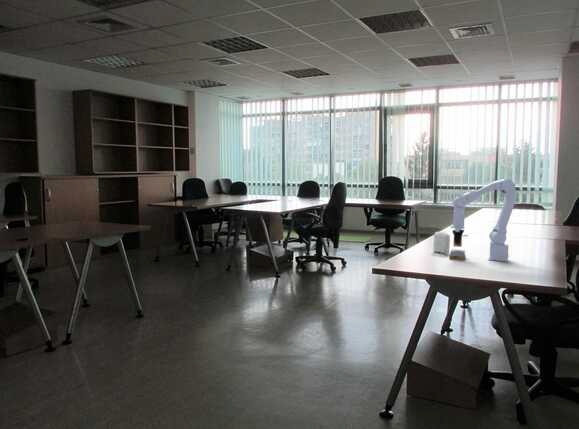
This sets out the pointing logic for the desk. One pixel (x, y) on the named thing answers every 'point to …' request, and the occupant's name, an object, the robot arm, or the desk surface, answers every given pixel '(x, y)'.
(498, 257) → the robot arm
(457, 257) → the walnut slab
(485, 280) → the desk surface
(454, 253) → the grey slab
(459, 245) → the red block
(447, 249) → the photo printer
